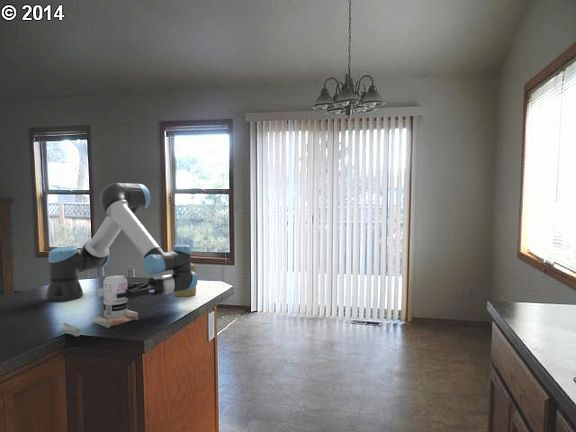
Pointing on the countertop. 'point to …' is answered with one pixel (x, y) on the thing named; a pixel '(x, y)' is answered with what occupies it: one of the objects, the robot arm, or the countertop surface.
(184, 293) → the cheese
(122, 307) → the sparkling water can
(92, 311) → the countertop surface
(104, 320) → the rack with upright dividers
